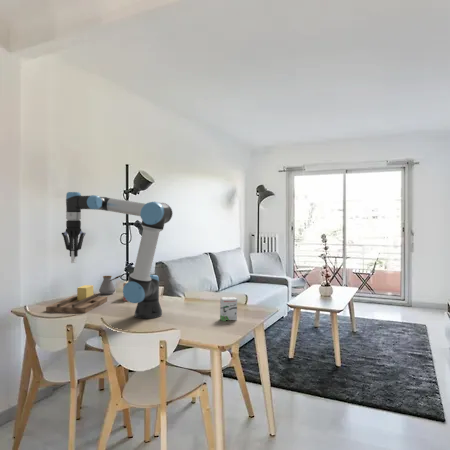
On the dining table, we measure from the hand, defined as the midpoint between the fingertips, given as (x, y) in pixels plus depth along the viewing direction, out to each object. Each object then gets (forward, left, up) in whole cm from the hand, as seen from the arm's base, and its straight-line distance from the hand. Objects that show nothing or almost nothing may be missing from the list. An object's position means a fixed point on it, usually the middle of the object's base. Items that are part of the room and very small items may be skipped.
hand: (73, 262), depth 212 cm
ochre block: (+9, -34, -27) cm, 45 cm away
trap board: (+10, -26, -30) cm, 41 cm away
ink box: (-86, -3, -31) cm, 91 cm away
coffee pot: (+4, -65, -31) cm, 72 cm away
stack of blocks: (-15, -55, -31) cm, 65 cm away
